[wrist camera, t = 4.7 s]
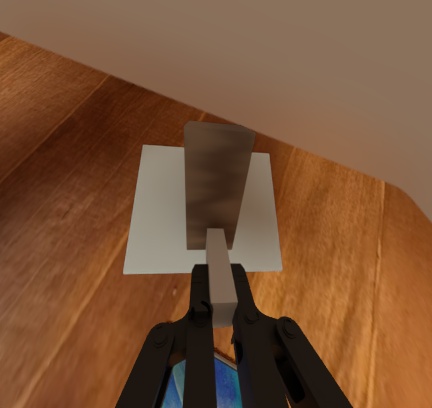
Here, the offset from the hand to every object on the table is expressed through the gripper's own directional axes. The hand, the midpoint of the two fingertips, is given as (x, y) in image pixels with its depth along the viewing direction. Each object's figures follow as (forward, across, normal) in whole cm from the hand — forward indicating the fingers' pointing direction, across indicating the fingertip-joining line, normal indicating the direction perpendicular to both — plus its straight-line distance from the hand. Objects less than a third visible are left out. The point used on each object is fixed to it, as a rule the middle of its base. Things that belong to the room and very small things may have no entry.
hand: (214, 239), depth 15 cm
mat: (+8, 0, -1) cm, 8 cm away
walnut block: (+4, 0, -2) cm, 4 cm away
